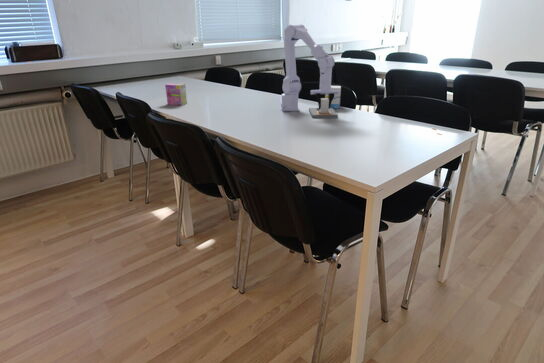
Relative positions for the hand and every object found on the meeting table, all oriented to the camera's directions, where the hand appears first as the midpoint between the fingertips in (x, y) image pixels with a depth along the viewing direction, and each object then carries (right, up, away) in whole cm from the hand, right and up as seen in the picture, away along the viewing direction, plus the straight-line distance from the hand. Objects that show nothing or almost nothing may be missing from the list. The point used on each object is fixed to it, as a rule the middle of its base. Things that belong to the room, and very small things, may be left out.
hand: (324, 108), depth 195 cm
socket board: (0, -2, +6) cm, 6 cm away
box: (-84, +8, +32) cm, 90 cm away
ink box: (+8, +5, +23) cm, 25 cm away
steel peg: (0, -3, +1) cm, 3 cm away
